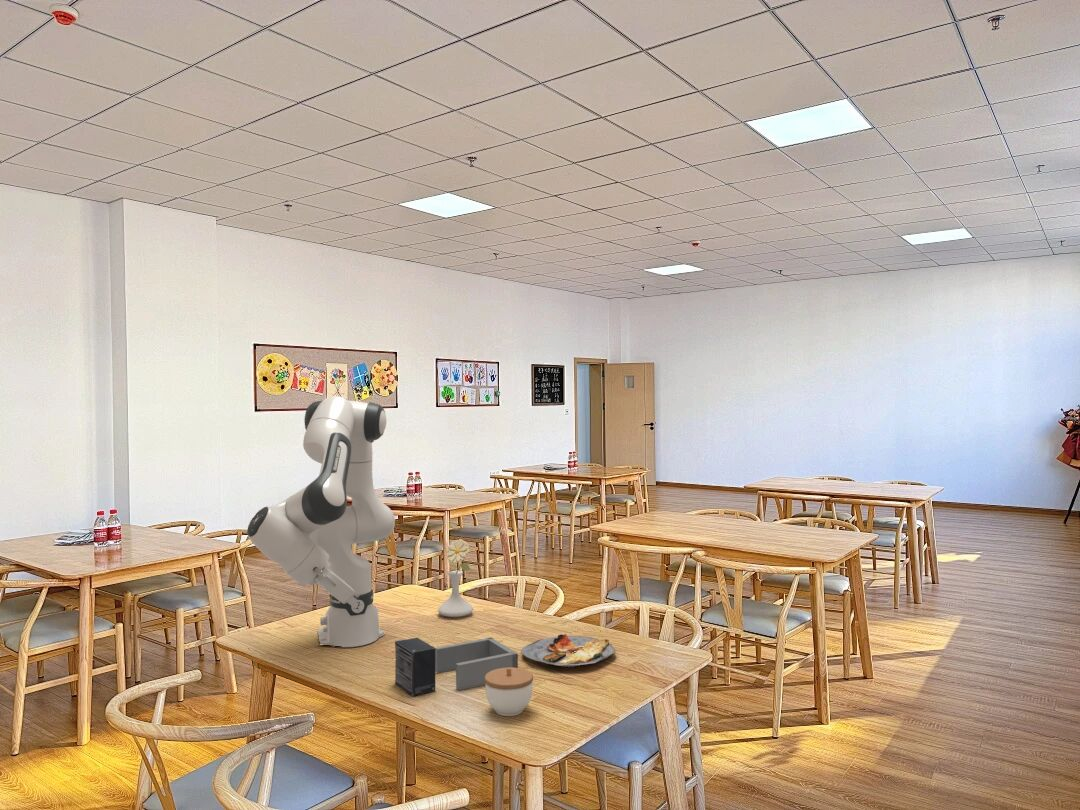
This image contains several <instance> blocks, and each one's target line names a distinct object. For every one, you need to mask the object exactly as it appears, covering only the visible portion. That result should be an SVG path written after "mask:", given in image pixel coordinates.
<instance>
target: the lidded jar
mask: <svg viewBox="0 0 1080 810" xmlns="http://www.w3.org/2000/svg"><path fill="white" fill-rule="evenodd" d="M533 681H534V674H533V673H532V672H531V671H530V670H527V669H525V668H521V667H518V668H512V667H511V668H500V669H495V670H492V671H490V672H488V673H487V674H486V675H485V685H484V686H485V694H486V700H487V702H488V704H489V705H490V707H491V708H492V709H493V710H494V711H495V713H496V714H497V715H500V716H503V717H513V716H514V717H515V716H518V715H521V714H522V713H523V712H524V710H525V709H526V708H527V706H528V705H529V704H530V701H531V699H532V695H533V687H534V686H533V685H534V684H533Z"/></svg>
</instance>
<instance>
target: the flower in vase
mask: <svg viewBox="0 0 1080 810" xmlns="http://www.w3.org/2000/svg"><path fill="white" fill-rule="evenodd" d="M447 546H448V548H446V556H447V557H446V559H447V561H448V563H449V565H450V566H451V567H454V568H455V569H456V570H451V571H448V572H447V575H448V576H449V578H450V582H451V594H450V596H449V597H448V598H447V599H446V600H445V601H444V602H443V603H442V604H441V605H440V606H438V609H437V612H438V613H439V615H440V616H444V617H447V618H448V617H449V618H459V617H465V616H468V615H470V614H472V613H473V611H474V607H473V606H472V604H471V603H470V602H469V601H467V600H465V598H463V597H462V595H461V594H460V579H461V577H462V575H463V573H464V572H465V571H469V570H471V568H470V565H469V564H468V562H464V563H463V561H464V560H466V557H467V556H468V554H469V552H470V546H469V543H468V542H467V541H466V540H463V539H462V538H460V539H455V540H454V541H451V543H450V544H448V545H447ZM451 562H452V563H451ZM459 562H460V564H459V567H457V565H455V564H458V563H459ZM460 568H461V570H460Z"/></svg>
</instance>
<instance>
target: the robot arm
mask: <svg viewBox="0 0 1080 810" xmlns="http://www.w3.org/2000/svg"><path fill="white" fill-rule="evenodd" d="M304 413H305V414H304V419H303V420H304V428H305V433H304V436H303V442H302V447H303V449H304V451H305V453H306V454H307V456H308V457H309V458H311V460H313V461H314V462H317V463H318V464H321V466H320V471H319V474H318V476H317V477H316V478H315V479H314V480H313V481H311V483H309V484H308V485H306V486H305V487H304V488H302V489H301V490H299V491H297V492H296V493H293V494H292V495H291V496H289V497H287V498H286V499H284V500H282V501H281V502H278V503H276V504H273V505H271V506H265V507H264V506H263V507H262V508H261V509H259V510H258V511H257V512H256V513H255V515H254V516H253V517H252V518H251V520H250V521H249V523H248V526H247V529H246V534H247V536H248V539H249V540H250V542H251V543H252V544H253V546H255V547H256V548H257V550H259V551H260V552H261V553H262V555H264V556H265V557H267V558H268V559H269V560H270V561H272V562H274V563H276V564H278V565H279V566H280V567H281V569H282V570H283V572H285V573H286V574H287V575H288V576H289V577H290V578H292V579H293V580H294V581H295V582H296V583H297V584H299V585H300V586H305V585H308V584H309V586H314V585H318V586H319V587H321V588H322V589H323V590H325V591H326V592H327V593H329V594H330V597H329V598H330V601H329V602H330V603H329V605H330V606H329V608H328V609H327V611H326V612H325V616H321V617H320V621H319V622H320V623H319V624H320V626H321V627H319V628H317V636H318V635H319V637H318V643H319V642H320V644H323V645H335V646H342V647H341V648H353V647H355V648H356V647H361V646H365V645H370V644H372V643H374V642H376V641H377V640H378V639H379V638H381V637H383V636H385V631H384V630H382V629H380V617H379V608H378V607H377V606H376V605H374V603H373V602H374V592H373V591H374V590H373V589H372V566H371V563H370V561H369V560H368V559H366V558H365V557H363V556H361V555H359V554H356V553H353V550H352V545H353V544H362V543H371V542H376V541H381V540H383V539H385V538H388V537H390V536H391V535H392V533H393V531H394V530H395V524H396V519H395V515H394V512H393V510H392V509H391V508H390V507H389V506H388V505H386V504H385V503H384V502H383V501H382V500H381V499H380V498H379V497H378V495H377V493H376V490H375V488H374V481H373V480H374V479H373V443H374V442H375V441H377V440H379V439H380V438H381V437H382V436H383V435H384V432H385V430H386V427H387V416H386V411H385V409H384V408H383V407H382V405H381V404H378V403H375V402H371V401H369V402H365V401H357V400H348V399H346V398H344V397H343V396H337V395H331V396H328V397H326V398H323V400H318V401H313V402H312V403H311V404H309V405H308V406H307V407H306V409H305V412H304ZM347 496H348V497H349V498H351V505H348V500H347V499H348V497H347ZM335 646H334V647H335Z"/></svg>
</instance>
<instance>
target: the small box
mask: <svg viewBox="0 0 1080 810" xmlns="http://www.w3.org/2000/svg"><path fill="white" fill-rule="evenodd" d="M394 645H395V648H394V649H395V652H394V653H395V654H394V655H395V666H394V667H395V672H394V673H395V675H394V676H395V678H394V680H395V681H394V684H395V685H396V686H398V687H399V688H401V689H402V690H403V691H405V692H406V693H407V694H409V695H410V696H411V697H415V696H419V695H424V694H427V693H432V692H436V672H435V648H436V647H434V646H433V645H431V644H429V643H428V642H426V641H424V640H422V639H420V638H419V637H414V638H408V639H401V640H395V641H394Z"/></svg>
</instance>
